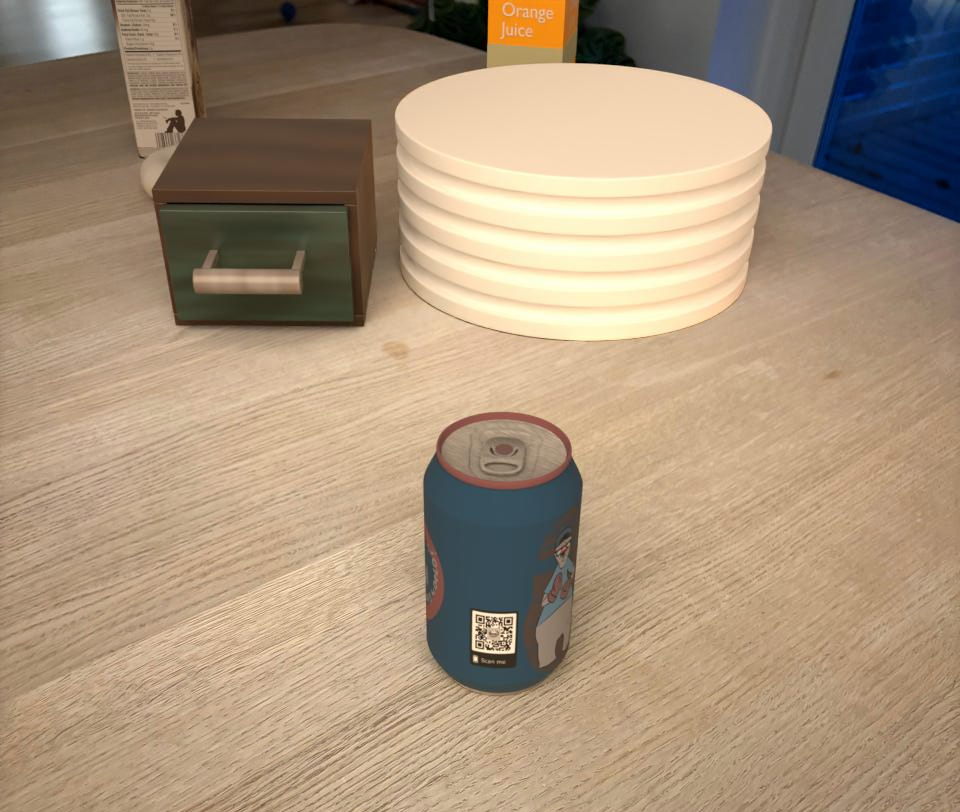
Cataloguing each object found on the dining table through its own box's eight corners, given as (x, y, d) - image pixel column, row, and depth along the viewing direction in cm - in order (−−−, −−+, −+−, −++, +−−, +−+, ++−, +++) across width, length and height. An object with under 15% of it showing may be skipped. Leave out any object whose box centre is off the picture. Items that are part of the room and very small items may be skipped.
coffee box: (147, 129, 116) (115, -52, 105) (210, 128, 117) (185, -52, 106) (136, 158, 109) (101, -32, 99) (203, 157, 110) (176, -33, 99)
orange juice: (573, 115, 121) (587, -105, 108) (558, 141, 115) (571, -90, 102) (502, 109, 122) (507, -109, 109) (484, 134, 116) (487, -95, 103)
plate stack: (432, 356, 79) (430, 190, 71) (377, 211, 99) (371, 70, 92) (803, 324, 83) (838, 165, 76) (677, 191, 104) (694, 56, 96)
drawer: (347, 356, 77) (339, 242, 72) (163, 355, 77) (141, 240, 71) (367, 242, 92) (362, 141, 87) (213, 241, 92) (198, 140, 86)
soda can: (436, 606, 58) (433, 399, 50) (570, 616, 58) (588, 409, 50) (417, 699, 53) (410, 484, 45) (564, 711, 52) (583, 496, 44)
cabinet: (364, 326, 82) (355, 191, 76) (175, 325, 82) (151, 189, 76) (377, 242, 94) (371, 119, 88) (212, 241, 94) (194, 117, 88)
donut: (277, 191, 103) (200, 166, 108) (274, 152, 101) (195, 128, 105) (197, 224, 97) (119, 196, 101) (192, 183, 95) (112, 157, 99)
